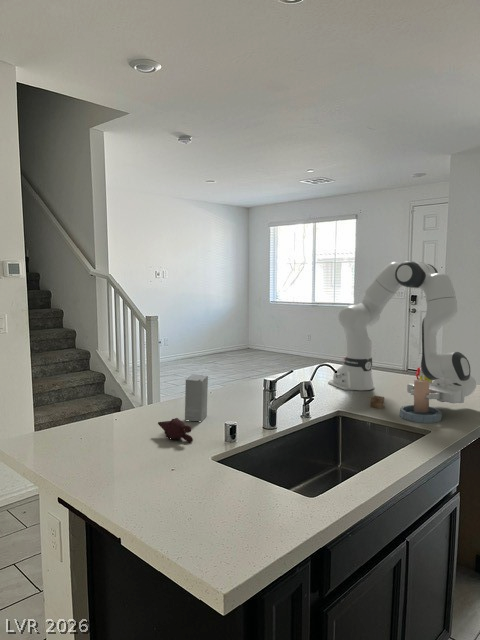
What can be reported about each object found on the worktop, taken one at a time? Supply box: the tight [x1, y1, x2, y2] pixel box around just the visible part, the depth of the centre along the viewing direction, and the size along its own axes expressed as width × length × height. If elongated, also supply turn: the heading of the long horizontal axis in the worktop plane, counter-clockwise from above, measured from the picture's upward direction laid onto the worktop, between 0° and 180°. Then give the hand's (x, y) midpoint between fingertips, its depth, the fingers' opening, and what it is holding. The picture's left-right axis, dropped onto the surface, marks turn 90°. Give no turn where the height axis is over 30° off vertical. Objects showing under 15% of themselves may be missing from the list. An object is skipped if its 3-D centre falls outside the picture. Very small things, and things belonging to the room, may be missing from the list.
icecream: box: [157, 417, 194, 443], centre depth 152 cm, size 7×7×15 cm
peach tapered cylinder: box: [413, 379, 430, 413], centre depth 173 cm, size 5×5×11 cm
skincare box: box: [184, 373, 209, 422], centre depth 172 cm, size 8×7×16 cm
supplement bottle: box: [419, 368, 433, 384], centre depth 224 cm, size 6×6×10 cm
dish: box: [399, 404, 443, 424], centre depth 174 cm, size 14×14×2 cm
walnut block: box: [370, 395, 385, 410], centre depth 187 cm, size 4×4×4 cm
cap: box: [415, 366, 421, 380], centre depth 237 cm, size 8×6×6 cm
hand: (419, 394), depth 172 cm, fingers closed on peach tapered cylinder, 5 cm apart
